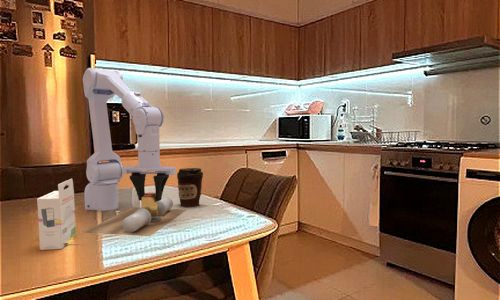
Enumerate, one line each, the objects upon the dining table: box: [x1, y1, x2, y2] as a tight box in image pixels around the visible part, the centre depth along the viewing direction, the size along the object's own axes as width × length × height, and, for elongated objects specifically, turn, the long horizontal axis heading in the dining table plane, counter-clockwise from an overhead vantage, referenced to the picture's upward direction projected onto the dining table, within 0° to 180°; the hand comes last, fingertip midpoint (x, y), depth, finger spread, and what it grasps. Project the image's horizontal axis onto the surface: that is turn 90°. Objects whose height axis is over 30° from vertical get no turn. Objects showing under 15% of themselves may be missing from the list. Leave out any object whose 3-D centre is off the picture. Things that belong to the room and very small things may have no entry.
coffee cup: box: [176, 167, 204, 208], centre depth 118 cm, size 9×8×13 cm
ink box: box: [36, 178, 77, 251], centre depth 84 cm, size 9×5×15 cm, turn 5°
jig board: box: [82, 206, 187, 237], centre depth 102 cm, size 18×26×1 cm
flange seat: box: [150, 217, 162, 223], centre depth 101 cm, size 6×6×1 cm
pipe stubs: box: [122, 196, 174, 233], centre depth 101 cm, size 5×23×5 cm, turn 170°
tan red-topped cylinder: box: [140, 192, 158, 217], centre depth 100 cm, size 4×4×6 cm
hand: (150, 200), depth 101 cm, fingers closed on tan red-topped cylinder, 4 cm apart
